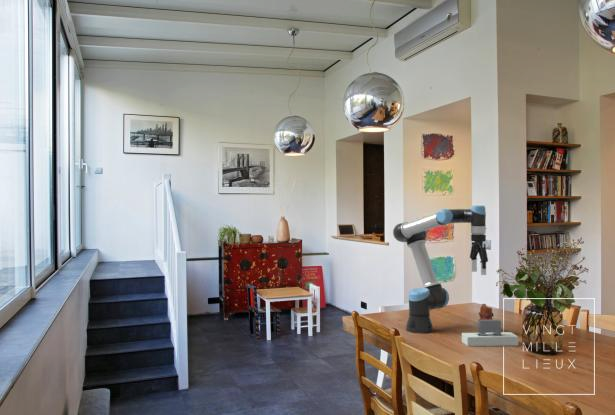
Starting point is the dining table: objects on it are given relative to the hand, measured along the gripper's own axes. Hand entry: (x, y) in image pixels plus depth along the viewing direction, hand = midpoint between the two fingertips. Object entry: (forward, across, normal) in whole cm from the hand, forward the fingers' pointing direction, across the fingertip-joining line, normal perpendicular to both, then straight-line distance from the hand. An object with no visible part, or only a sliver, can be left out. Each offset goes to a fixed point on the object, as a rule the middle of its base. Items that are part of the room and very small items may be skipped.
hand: (478, 273), depth 269 cm
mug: (+35, +12, -8) cm, 38 cm away
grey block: (+35, -12, -1) cm, 37 cm away
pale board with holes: (+35, -12, -1) cm, 37 cm away
